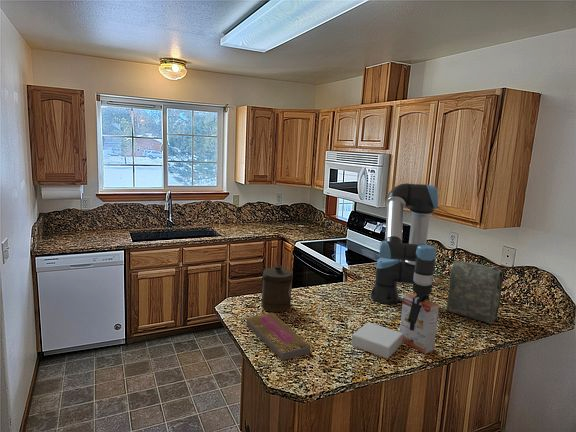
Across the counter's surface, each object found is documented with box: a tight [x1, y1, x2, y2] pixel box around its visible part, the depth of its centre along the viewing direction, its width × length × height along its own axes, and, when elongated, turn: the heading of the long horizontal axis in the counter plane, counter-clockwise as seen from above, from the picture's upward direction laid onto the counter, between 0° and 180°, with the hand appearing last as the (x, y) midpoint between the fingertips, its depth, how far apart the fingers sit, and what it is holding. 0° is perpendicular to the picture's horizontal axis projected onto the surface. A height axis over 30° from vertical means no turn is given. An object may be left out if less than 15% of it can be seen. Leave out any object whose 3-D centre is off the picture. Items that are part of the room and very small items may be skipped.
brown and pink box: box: [245, 312, 315, 361], centre depth 167 cm, size 35×14×6 cm, turn 30°
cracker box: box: [399, 292, 440, 355], centre depth 164 cm, size 14×6×21 cm, turn 33°
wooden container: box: [261, 264, 293, 313], centre depth 198 cm, size 15×15×22 cm
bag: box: [445, 259, 504, 325], centre depth 199 cm, size 22×16×27 cm
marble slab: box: [350, 322, 404, 359], centre depth 166 cm, size 16×16×5 cm
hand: (417, 331), depth 165 cm, fingers open, 13 cm apart
